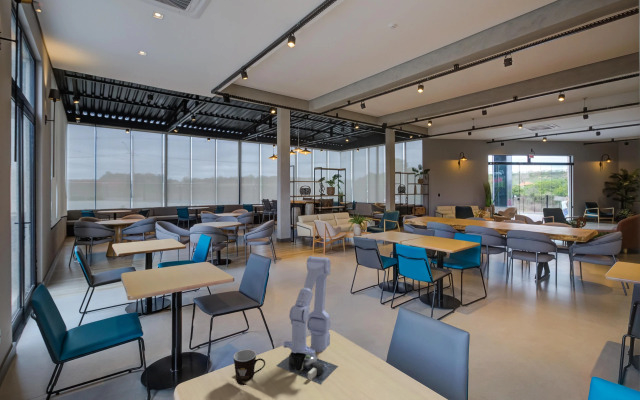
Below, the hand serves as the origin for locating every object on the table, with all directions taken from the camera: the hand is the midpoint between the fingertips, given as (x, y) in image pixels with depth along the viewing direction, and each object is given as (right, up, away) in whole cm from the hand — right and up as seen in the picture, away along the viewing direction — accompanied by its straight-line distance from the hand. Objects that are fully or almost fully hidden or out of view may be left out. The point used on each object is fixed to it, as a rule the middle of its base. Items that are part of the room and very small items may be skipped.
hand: (298, 369), depth 122 cm
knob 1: (-1, -1, +5) cm, 5 cm away
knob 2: (+7, -1, -1) cm, 7 cm away
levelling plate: (+3, -3, +5) cm, 6 cm away
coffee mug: (-20, -3, -3) cm, 20 cm away
